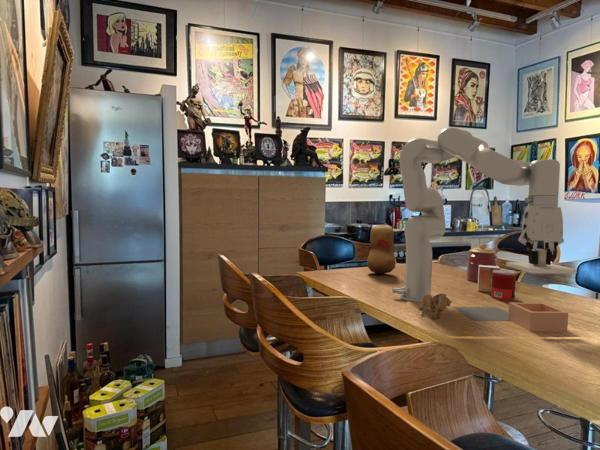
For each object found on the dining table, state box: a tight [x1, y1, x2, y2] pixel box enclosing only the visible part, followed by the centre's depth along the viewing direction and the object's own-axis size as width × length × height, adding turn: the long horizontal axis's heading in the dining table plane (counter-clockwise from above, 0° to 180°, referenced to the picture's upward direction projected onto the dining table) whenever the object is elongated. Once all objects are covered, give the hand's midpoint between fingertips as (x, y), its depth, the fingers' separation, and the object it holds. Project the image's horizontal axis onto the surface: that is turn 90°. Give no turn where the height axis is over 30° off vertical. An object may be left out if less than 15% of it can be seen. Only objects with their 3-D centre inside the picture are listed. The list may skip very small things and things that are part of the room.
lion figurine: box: [418, 293, 453, 320], centre depth 128 cm, size 15×5×9 cm, turn 16°
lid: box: [505, 248, 578, 275], centre depth 118 cm, size 13×13×6 cm
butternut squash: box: [366, 224, 396, 276], centre depth 201 cm, size 14×13×25 cm
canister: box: [466, 243, 498, 283], centre depth 190 cm, size 13×13×18 cm
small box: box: [477, 265, 501, 293], centre depth 168 cm, size 8×6×10 cm
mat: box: [452, 306, 511, 322], centre depth 131 cm, size 16×16×1 cm
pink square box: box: [508, 302, 569, 333], centre depth 120 cm, size 11×11×6 cm
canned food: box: [490, 269, 517, 302], centre depth 153 cm, size 8×8×11 cm
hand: (539, 263), depth 119 cm, fingers closed on lid, 3 cm apart
